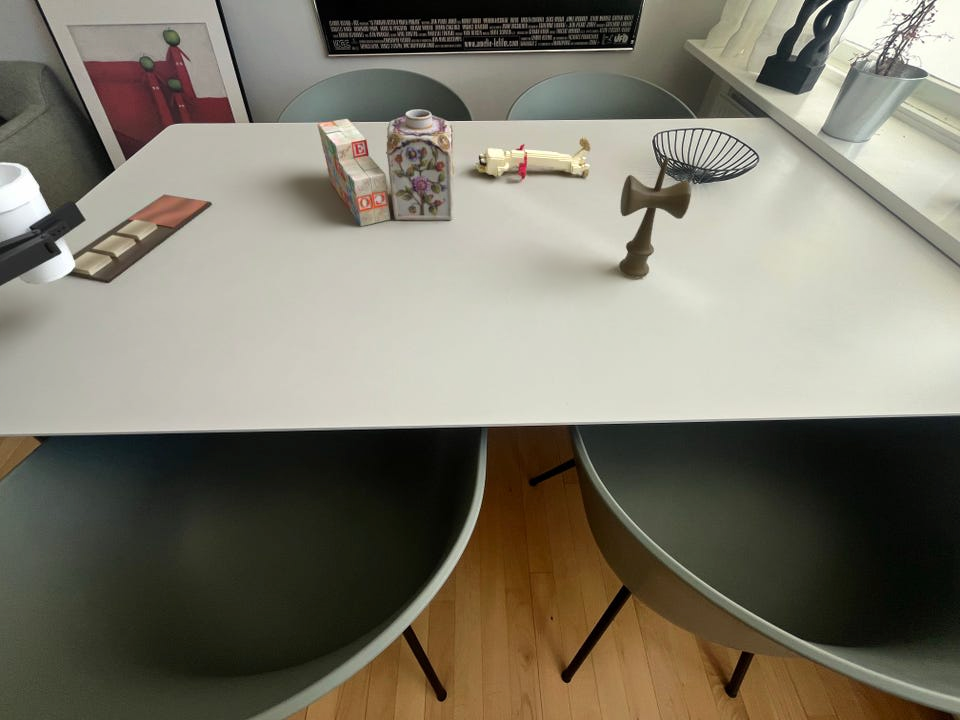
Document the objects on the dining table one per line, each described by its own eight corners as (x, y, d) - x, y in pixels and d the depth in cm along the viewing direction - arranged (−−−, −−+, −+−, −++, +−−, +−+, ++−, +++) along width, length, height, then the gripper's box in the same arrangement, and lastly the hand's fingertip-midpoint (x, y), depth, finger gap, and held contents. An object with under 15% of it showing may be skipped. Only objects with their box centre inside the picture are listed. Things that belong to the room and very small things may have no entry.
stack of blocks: (391, 220, 94) (383, 157, 85) (360, 227, 92) (349, 164, 83) (357, 175, 107) (347, 117, 98) (329, 181, 105) (316, 122, 96)
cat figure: (578, 168, 114) (474, 160, 111) (588, 130, 108) (478, 121, 105) (587, 188, 107) (476, 180, 104) (598, 149, 101) (480, 139, 98)
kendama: (604, 259, 86) (631, 146, 72) (658, 263, 85) (697, 150, 71) (606, 279, 82) (635, 163, 67) (663, 283, 81) (705, 168, 67)
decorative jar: (393, 221, 94) (381, 125, 81) (398, 192, 102) (388, 101, 89) (454, 221, 94) (452, 125, 81) (454, 192, 102) (452, 101, 89)
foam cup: (31, 252, 69) (-37, 163, 60) (99, 249, 70) (42, 161, 61) (-8, 293, 63) (-92, 200, 53) (67, 289, 63) (-2, 198, 54)
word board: (53, 272, 81) (47, 264, 79) (165, 197, 99) (161, 189, 98) (108, 283, 79) (103, 275, 78) (212, 204, 97) (209, 197, 96)
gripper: (-184, 327, 53) (-9, 222, 68) (-8, 354, 51) (132, 240, 66) (-259, 271, 48) (-50, 171, 63) (-65, 299, 45) (102, 188, 61)
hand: (43, 206), depth 64 cm, fingers closed on foam cup, 9 cm apart
